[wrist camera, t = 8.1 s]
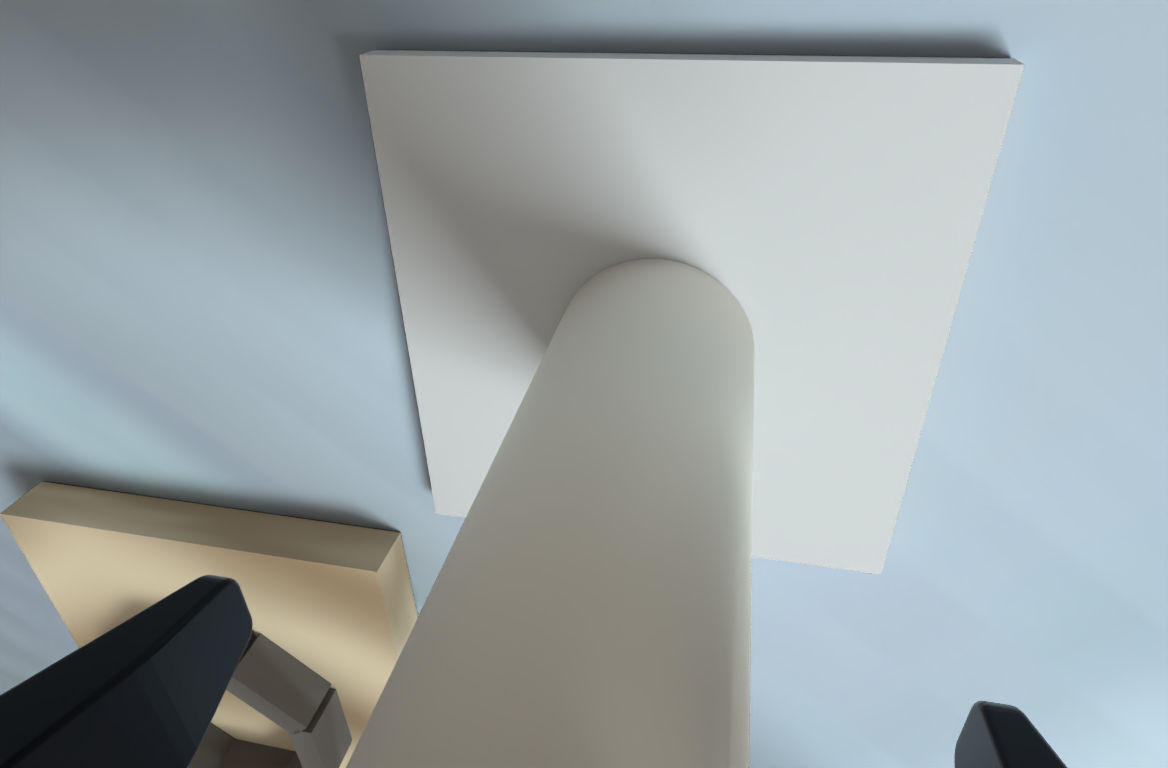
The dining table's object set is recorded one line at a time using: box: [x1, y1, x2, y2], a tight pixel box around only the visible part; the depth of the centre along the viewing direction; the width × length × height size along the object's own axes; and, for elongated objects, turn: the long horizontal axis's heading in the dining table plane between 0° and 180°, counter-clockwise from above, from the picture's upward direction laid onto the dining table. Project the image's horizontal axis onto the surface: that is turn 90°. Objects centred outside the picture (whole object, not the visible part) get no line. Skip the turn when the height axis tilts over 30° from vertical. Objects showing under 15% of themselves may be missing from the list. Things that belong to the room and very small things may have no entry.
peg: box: [346, 259, 754, 768], centre depth 10 cm, size 4×4×12 cm
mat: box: [359, 50, 1024, 574], centre depth 15 cm, size 11×11×1 cm
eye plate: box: [0, 481, 418, 768], centre depth 24 cm, size 14×12×3 cm
